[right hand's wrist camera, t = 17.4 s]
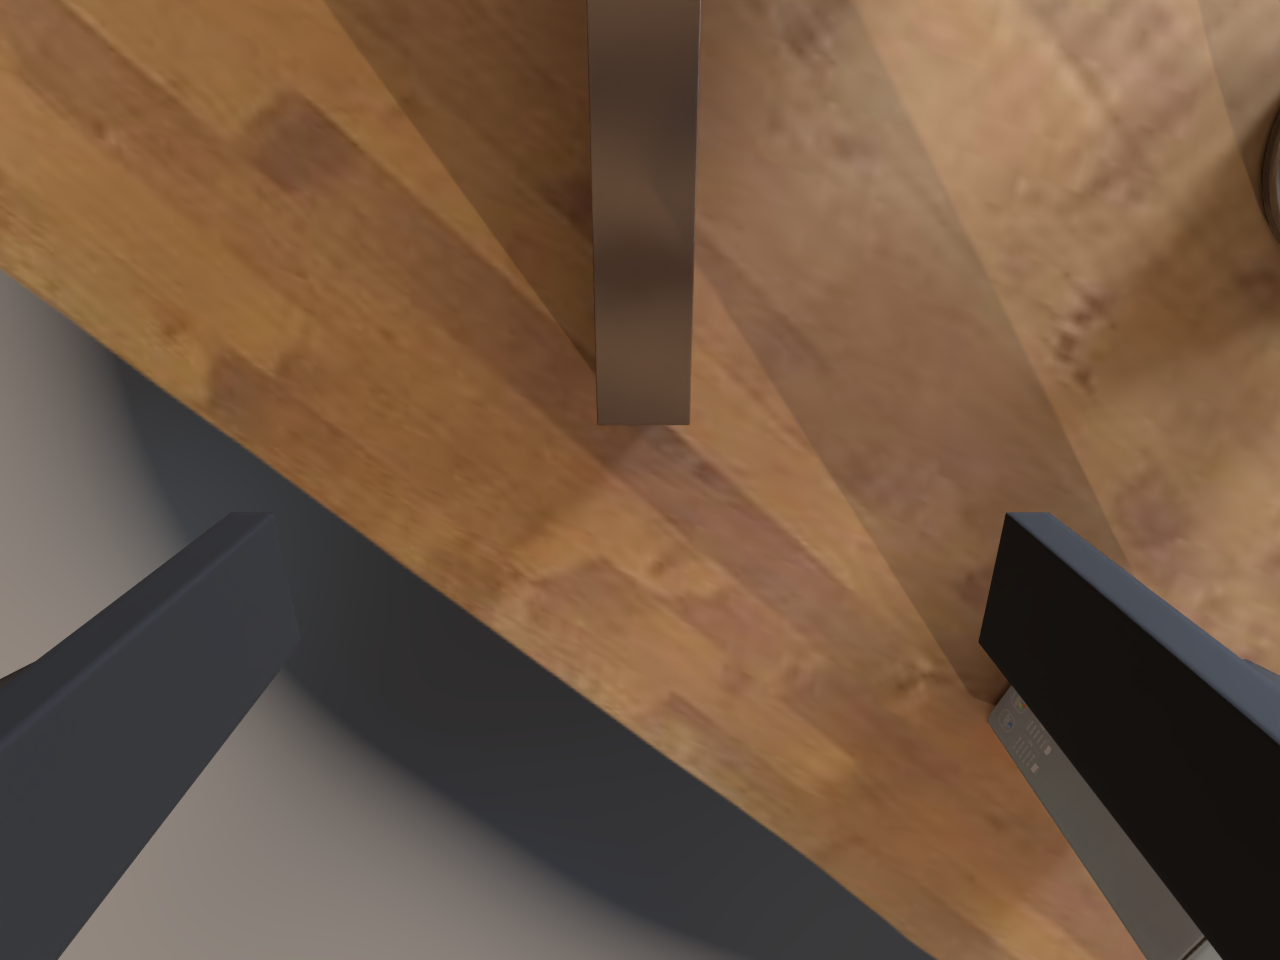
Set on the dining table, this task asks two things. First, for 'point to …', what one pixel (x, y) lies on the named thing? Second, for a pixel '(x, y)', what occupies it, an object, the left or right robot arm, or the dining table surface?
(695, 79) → the bar
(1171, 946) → the hard drive box
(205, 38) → the dining table surface
